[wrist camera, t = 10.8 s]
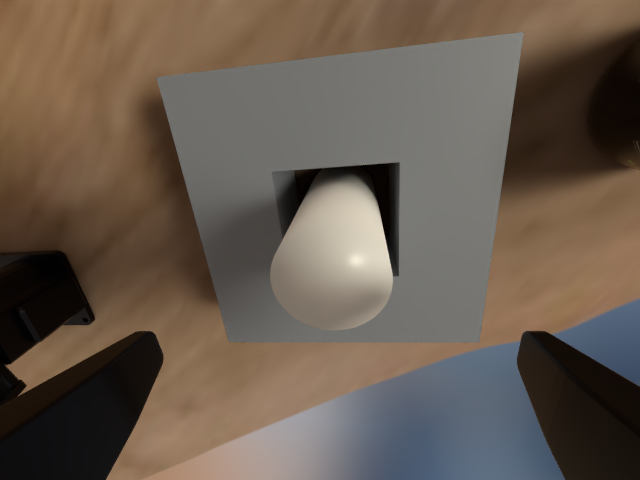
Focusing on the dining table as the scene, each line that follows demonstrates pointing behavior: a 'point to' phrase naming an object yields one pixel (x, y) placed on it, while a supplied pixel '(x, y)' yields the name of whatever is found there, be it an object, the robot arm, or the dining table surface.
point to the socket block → (350, 150)
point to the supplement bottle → (619, 110)
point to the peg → (334, 254)
